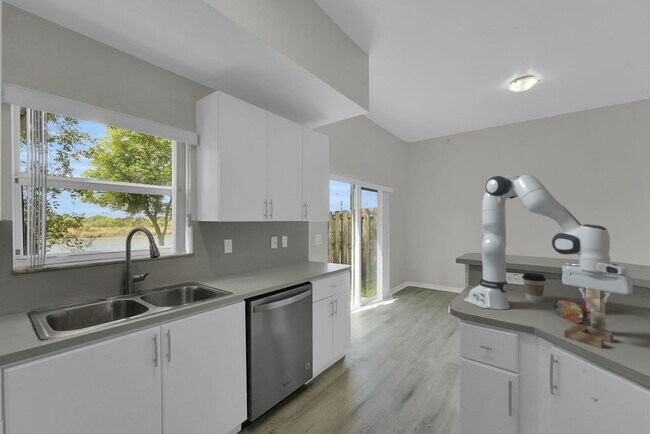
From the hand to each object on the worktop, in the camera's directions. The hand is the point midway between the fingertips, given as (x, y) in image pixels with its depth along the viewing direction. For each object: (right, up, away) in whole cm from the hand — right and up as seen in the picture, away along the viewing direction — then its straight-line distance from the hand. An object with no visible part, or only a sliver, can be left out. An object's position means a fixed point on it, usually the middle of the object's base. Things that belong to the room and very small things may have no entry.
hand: (594, 300), depth 109 cm
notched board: (-1, -16, +1) cm, 16 cm away
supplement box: (+29, -16, +32) cm, 46 cm away
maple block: (0, -3, 0) cm, 3 cm away
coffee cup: (+15, -16, +52) cm, 57 cm away
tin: (+10, -16, +22) cm, 29 cm away
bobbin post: (+9, -16, +8) cm, 20 cm away
